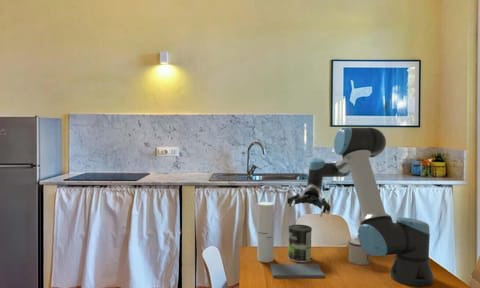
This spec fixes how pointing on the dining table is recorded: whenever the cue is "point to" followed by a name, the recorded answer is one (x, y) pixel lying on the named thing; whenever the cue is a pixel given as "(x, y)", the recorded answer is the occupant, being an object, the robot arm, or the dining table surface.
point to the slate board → (296, 271)
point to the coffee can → (299, 243)
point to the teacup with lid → (357, 253)
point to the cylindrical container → (265, 232)
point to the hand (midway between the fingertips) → (306, 211)
